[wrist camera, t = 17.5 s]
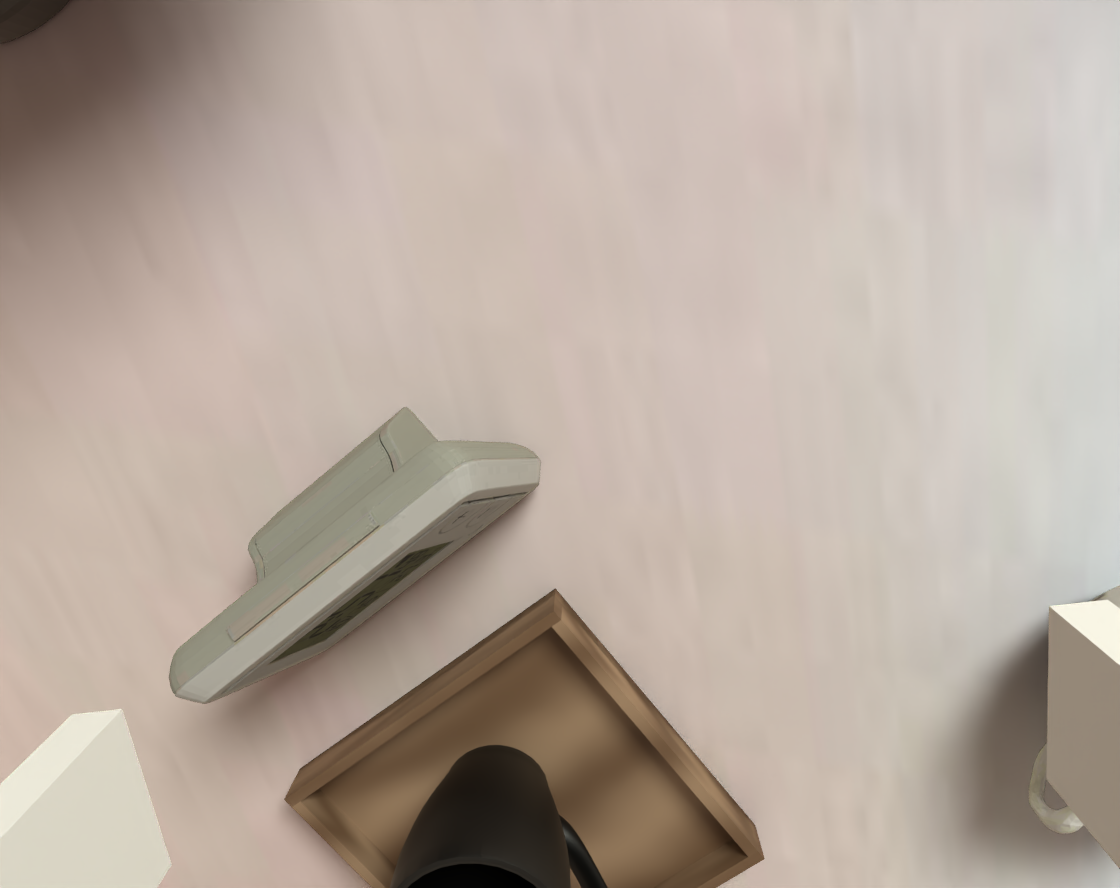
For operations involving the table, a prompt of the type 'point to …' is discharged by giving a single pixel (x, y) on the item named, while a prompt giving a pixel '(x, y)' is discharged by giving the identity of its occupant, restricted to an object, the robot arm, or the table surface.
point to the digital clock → (352, 550)
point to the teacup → (1051, 818)
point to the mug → (493, 830)
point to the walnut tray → (553, 742)
